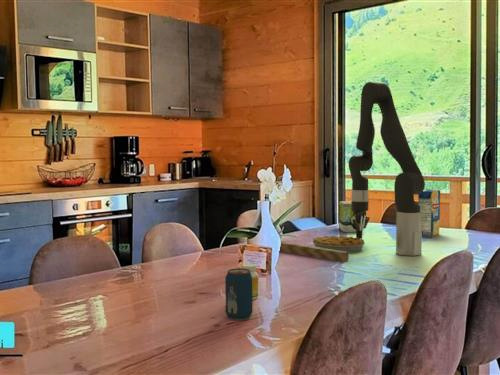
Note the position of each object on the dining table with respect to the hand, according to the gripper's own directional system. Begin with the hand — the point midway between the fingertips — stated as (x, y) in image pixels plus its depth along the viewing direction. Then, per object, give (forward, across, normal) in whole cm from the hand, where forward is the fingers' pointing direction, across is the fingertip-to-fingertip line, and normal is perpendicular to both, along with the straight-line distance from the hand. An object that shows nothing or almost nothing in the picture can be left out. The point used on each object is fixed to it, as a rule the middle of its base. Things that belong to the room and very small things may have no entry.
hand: (359, 238), depth 256 cm
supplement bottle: (+3, -100, -28) cm, 104 cm away
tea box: (+3, +34, +28) cm, 44 cm away
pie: (+3, -16, 0) cm, 16 cm away
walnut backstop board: (+2, -36, 0) cm, 37 cm away
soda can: (+3, -115, -40) cm, 121 cm away
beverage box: (+3, +48, -9) cm, 49 cm away
